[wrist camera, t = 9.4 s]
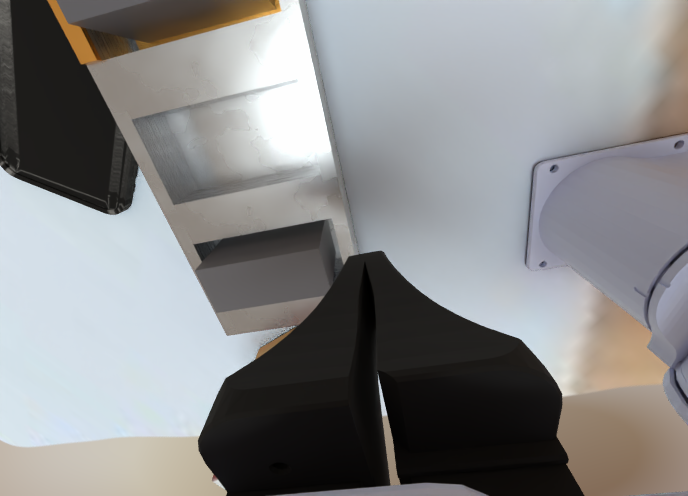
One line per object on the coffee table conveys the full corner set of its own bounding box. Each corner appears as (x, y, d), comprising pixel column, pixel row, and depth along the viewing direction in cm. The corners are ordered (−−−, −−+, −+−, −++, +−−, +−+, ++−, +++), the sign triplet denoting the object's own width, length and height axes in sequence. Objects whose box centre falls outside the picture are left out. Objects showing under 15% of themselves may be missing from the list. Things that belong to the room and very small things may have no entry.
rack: (266, -184, 13) (232, -297, 9) (365, 282, 23) (368, 317, 20) (57, -110, 14) (-49, -183, 10) (243, 302, 24) (225, 338, 21)
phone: (-4, 170, 19) (-27, -149, 13) (14, 166, 20) (1, -132, 14) (124, 220, 21) (161, -43, 14) (134, 214, 22) (174, -34, 15)
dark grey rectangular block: (326, 213, 20) (319, 248, 15) (335, 252, 21) (331, 294, 17) (227, 232, 21) (194, 270, 16) (243, 268, 22) (216, 313, 18)
